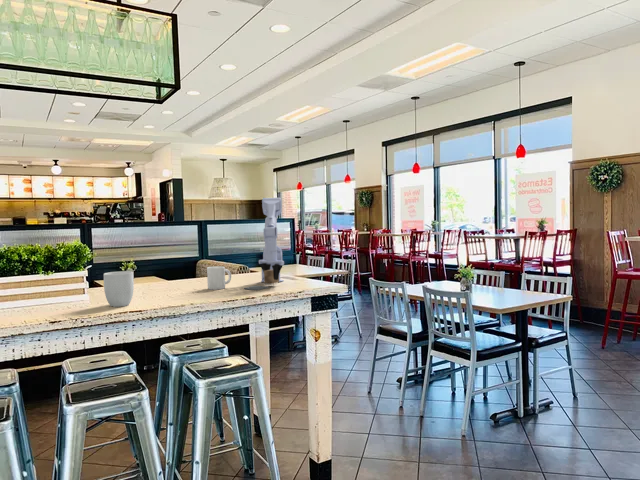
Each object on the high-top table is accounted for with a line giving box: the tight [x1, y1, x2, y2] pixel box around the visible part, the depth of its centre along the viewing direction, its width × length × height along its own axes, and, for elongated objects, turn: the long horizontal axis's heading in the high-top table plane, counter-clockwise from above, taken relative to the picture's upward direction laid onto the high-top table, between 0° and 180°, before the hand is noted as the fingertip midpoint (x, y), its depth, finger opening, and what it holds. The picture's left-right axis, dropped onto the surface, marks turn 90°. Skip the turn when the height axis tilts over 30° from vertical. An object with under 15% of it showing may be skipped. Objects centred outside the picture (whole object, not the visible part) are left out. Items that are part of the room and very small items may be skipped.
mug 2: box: [206, 265, 232, 291], centre depth 234 cm, size 12×8×10 cm
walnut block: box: [263, 270, 280, 285], centre depth 236 cm, size 5×5×6 cm
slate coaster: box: [244, 285, 269, 291], centre depth 230 cm, size 8×8×1 cm
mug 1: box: [103, 270, 135, 308], centre depth 194 cm, size 15×11×13 cm
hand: (271, 279), depth 236 cm, fingers closed on walnut block, 5 cm apart
